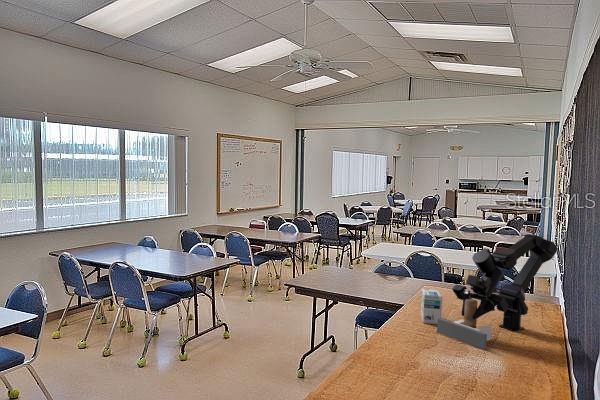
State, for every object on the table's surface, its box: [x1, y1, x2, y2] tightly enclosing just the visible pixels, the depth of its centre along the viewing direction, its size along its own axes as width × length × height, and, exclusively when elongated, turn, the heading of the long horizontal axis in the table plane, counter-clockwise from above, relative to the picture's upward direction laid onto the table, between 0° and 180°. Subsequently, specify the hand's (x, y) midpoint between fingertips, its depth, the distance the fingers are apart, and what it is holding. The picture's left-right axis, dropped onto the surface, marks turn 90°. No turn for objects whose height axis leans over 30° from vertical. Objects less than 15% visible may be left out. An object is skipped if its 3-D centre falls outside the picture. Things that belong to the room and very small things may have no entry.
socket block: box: [453, 318, 493, 342], centre depth 157 cm, size 9×10×4 cm
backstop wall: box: [436, 317, 488, 350], centre depth 154 cm, size 2×18×5 cm, turn 35°
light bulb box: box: [420, 288, 443, 325], centre depth 176 cm, size 11×7×11 cm, turn 170°
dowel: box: [463, 298, 479, 328], centre depth 157 cm, size 4×4×12 cm
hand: (467, 317), depth 156 cm, fingers closed on dowel, 4 cm apart
